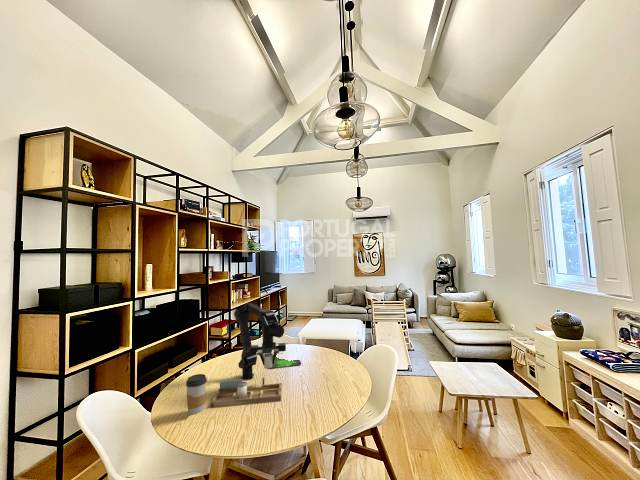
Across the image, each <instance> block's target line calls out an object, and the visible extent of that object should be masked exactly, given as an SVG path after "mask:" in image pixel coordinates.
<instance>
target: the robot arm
mask: <svg viewBox="0 0 640 480" xmlns="http://www.w3.org/2000/svg"><path fill="white" fill-rule="evenodd" d="M250 314H253V315H255V316H256V317H258V320H259V321H260V322H261V323H260V324H259V326H261V327H262V328H261V329H262V344H261V346H259V345H258V344H254V345H252V341H251V334H250V333H251V332H250V328H249V319H250V317H251V316H250ZM233 315H234V319H235V321H236V322H237V323H238V325H239V332H240V337H241V344H242V351H241V357H240V358H241V359H240V360H239V362H238V368H239V369H241V370H242V371H241V372H242V374H241V378H240V379H242V381H244V380H252V379H254V376H255V374H254V372H253V371H254V370H253V369H254V367H253V366H256V364H257V360H258V356H259V357H260V360H261V362H262V365H263V367H264V354H266V353H272V355H273V364H274V360H275V357H276V355H277V354H280V352H286V351H287V347H286V345H287V344H286V343H285V342H281V343H278V345H277V343H276V342H275V341H274V337H275V338H279V339H280V338H282V337H283V336H284V334H285V329H284V327H283V325H282V323H279V319H278V317H277V316H276V314H275V311H274V310H272V309H265V308H262V307H260V306H258V305H256V304H254V303H253V302H246V303H244V304H242V305H241V306H239V307H238V308H237V309H235V311H234V313H233Z"/></svg>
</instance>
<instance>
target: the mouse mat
mask: <svg viewBox="0 0 640 480" xmlns="http://www.w3.org/2000/svg"><path fill="white" fill-rule="evenodd" d="M301 365H302V361H301V359H300V360H293V361H292V360H291V361H288V360H285V359H279V358H277V357H275V360H274V364H273V367H272V368H269V369H268V370H272V369H280V368H290V367H297V366H301Z"/></svg>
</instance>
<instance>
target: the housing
mask: <svg viewBox="0 0 640 480" xmlns="http://www.w3.org/2000/svg"><path fill="white" fill-rule="evenodd" d="M282 385H283V383H282V382H279V383H272V384H268V383H267V384H265V377H262V385H261V386H254V387H247V398H245V399H237V387H235V388H224V389H221V388H220V387H219V388H218V390H217V392H216V393H215V395H214V397H213V398H212V401H211V402H210V408H221V407H230V406H241V405H251V404H261V403H271V402H280V401H282V388H283V386H282Z"/></svg>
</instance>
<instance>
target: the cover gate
mask: <svg viewBox="0 0 640 480" xmlns="http://www.w3.org/2000/svg"><path fill="white" fill-rule="evenodd" d="M240 382H243V380H242V379H241V378H240V379H239V378H238V379H229V380H220V381H219V388H221V389H224V388H235V387H237V384H238V383H240Z"/></svg>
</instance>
